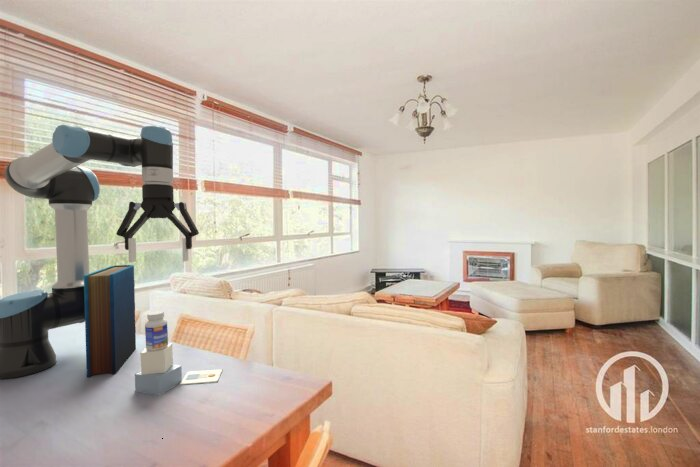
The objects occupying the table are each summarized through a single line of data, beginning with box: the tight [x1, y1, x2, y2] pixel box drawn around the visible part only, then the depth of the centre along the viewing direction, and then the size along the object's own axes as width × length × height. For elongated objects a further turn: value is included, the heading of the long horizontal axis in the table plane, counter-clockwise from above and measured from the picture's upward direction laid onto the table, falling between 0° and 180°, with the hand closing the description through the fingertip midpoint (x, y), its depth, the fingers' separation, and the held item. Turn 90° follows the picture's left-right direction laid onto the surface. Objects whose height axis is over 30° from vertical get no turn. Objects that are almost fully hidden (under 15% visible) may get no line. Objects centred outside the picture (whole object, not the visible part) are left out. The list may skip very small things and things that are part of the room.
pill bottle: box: [144, 310, 169, 351], centre depth 96 cm, size 5×5×10 cm
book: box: [84, 264, 137, 378], centre depth 113 cm, size 24×9×30 cm, turn 18°
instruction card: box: [179, 368, 223, 386], centre depth 102 cm, size 10×8×1 cm
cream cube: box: [140, 342, 174, 375], centre depth 96 cm, size 6×6×6 cm
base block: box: [134, 363, 183, 396], centre depth 96 cm, size 8×8×5 cm
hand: (159, 261), depth 96 cm, fingers open, 13 cm apart
